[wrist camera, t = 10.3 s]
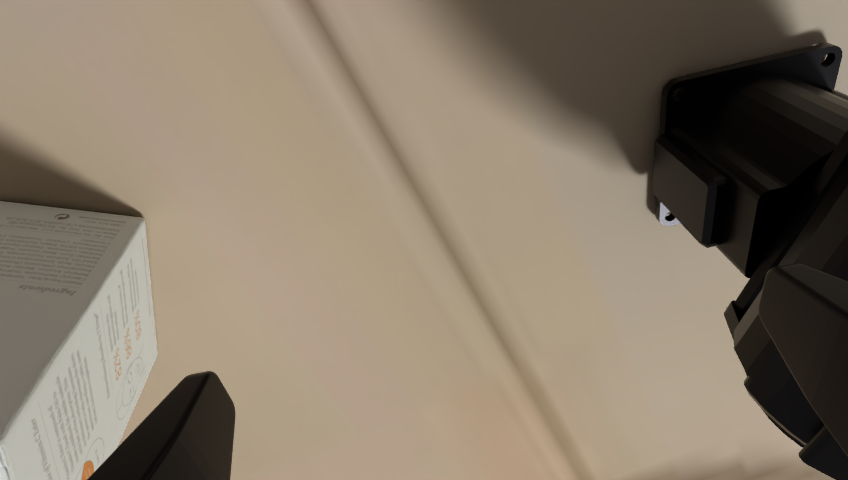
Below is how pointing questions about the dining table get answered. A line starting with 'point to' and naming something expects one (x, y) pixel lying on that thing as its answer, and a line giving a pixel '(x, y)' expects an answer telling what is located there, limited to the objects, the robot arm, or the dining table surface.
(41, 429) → the small box
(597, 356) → the dining table surface
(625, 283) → the dining table surface
